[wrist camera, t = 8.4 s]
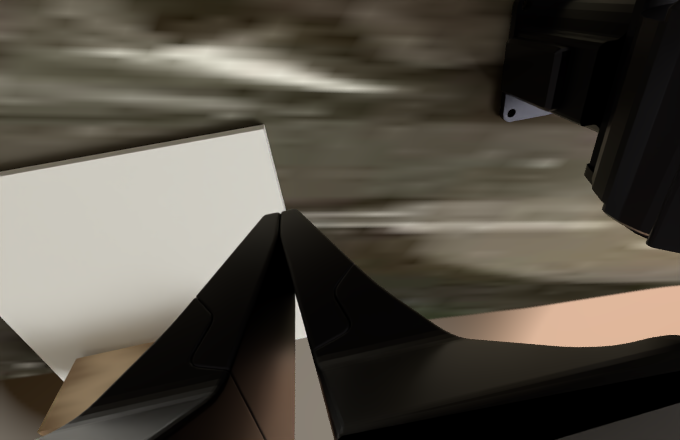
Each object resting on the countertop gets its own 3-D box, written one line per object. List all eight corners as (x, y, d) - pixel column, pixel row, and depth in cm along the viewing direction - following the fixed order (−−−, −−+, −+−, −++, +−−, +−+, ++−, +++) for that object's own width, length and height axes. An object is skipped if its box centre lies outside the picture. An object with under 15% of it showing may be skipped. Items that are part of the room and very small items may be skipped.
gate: (278, 312, 26) (279, 389, 21) (283, 328, 27) (286, 406, 22) (74, 356, 25) (25, 449, 20) (88, 372, 26) (44, 463, 21)
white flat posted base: (264, 124, 20) (261, 180, 14) (315, 327, 29) (326, 411, 23) (-102, 189, 18) (-275, 282, 13) (76, 379, 28) (24, 482, 22)
